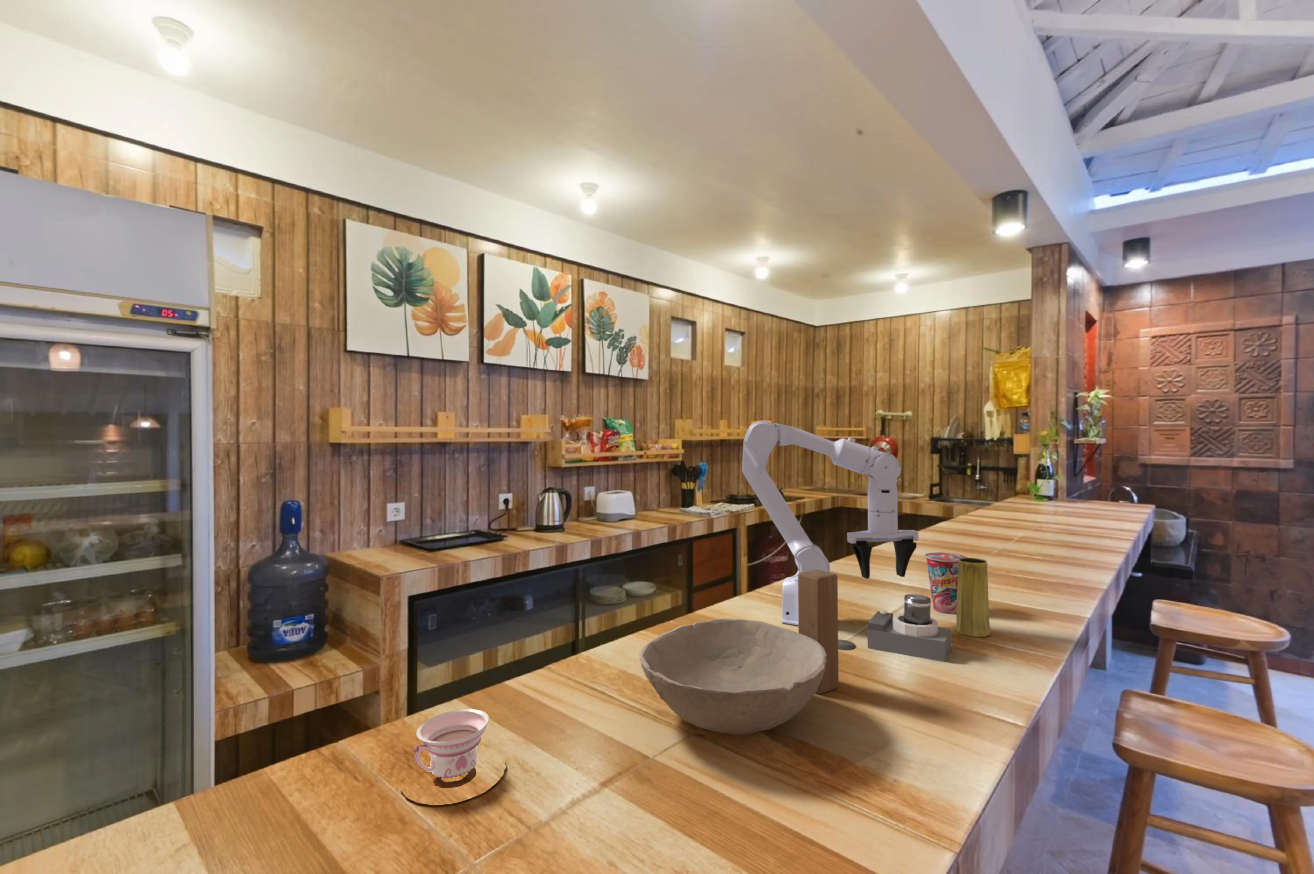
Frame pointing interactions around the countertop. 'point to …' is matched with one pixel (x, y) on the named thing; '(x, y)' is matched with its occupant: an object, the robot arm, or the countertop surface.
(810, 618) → the wooden block
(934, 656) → the camera body
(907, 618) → the lens
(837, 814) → the countertop surface
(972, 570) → the vase
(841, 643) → the lens cap
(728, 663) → the bowl
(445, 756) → the teacup
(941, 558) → the cup
